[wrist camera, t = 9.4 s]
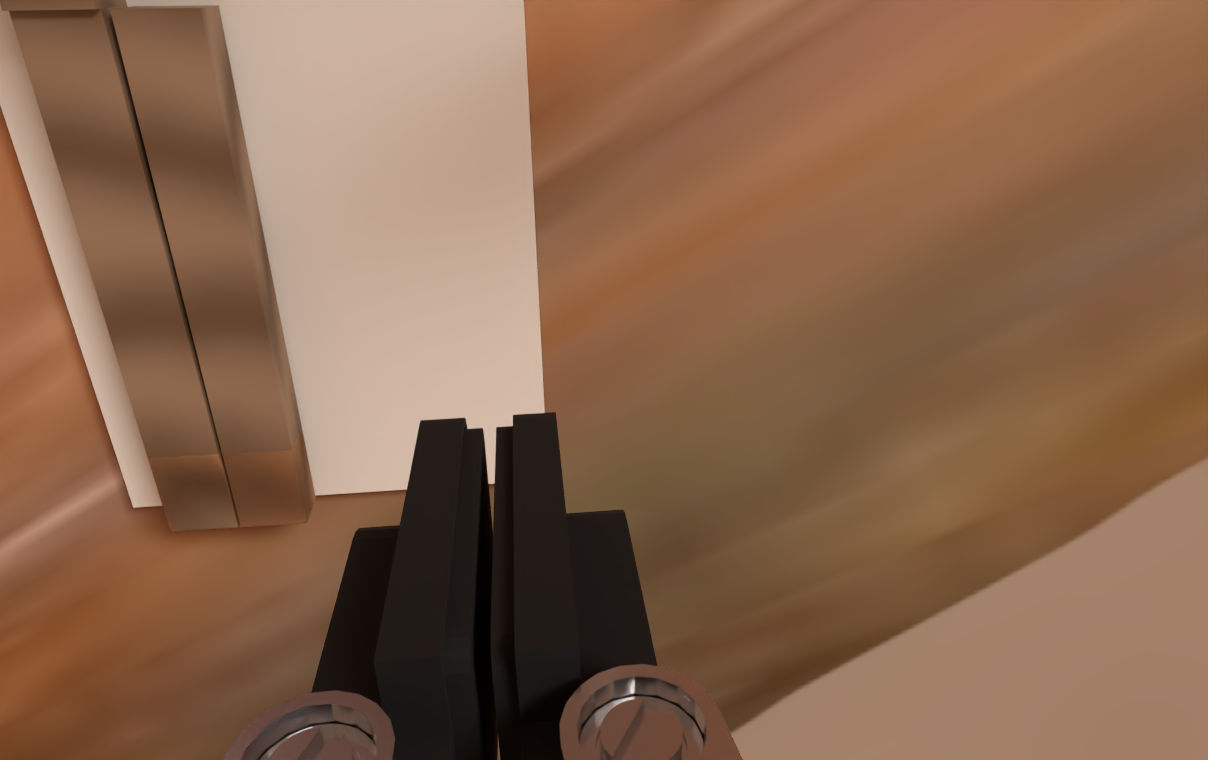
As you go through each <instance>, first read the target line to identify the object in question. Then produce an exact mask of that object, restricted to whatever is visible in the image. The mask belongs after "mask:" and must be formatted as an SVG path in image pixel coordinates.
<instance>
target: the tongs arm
mask: <svg viewBox="0 0 1208 760" xmlns="http://www.w3.org/2000/svg"><path fill="white" fill-rule="evenodd" d="M110 11H111V15H112V19H113V23H114V27H115V31H116V35H117V39H118V43H119V47H120V51H121V55H122V59H123V63H124V67H125V71H126V74H127V78H128V82H129V86H130V90H131V94H132V98H133V102H134V106H135V110H136V114H137V118H138V122H139V126H140V130H141V134H142V138H143V142H144V146H145V150H146V154H147V158H148V162H149V166H150V170H151V174H152V178H153V182H154V186H155V190H156V193H157V197H158V201H159V205H160V209H161V213H162V217H163V221H164V225H165V229H166V233H167V237H168V241H169V245H170V249H171V253H172V257H173V261H174V265H175V269H176V273H177V277H178V281H179V285H180V289H181V293H182V297H183V301H184V305H185V309H186V312H187V316H188V320H189V324H190V328H191V332H192V336H193V340H194V344H195V348H196V352H197V356H198V360H199V364H200V368H201V372H202V376H203V380H204V384H205V388H206V392H207V396H208V400H209V404H210V408H211V412H212V416H213V420H214V424H215V427H216V431H217V435H218V439H219V443H220V447H221V451H222V455H223V459H224V463H225V467H226V471H227V475H228V479H229V483H230V487H231V491H232V495H233V499H234V503H235V507H236V511H237V515H238V519H239V523H240V527H253V526H269V525H285V524H301V523H307V522H308V519H309V516H310V513H311V510H312V508H313V505H314V502H315V499H316V497H315V492H314V487H313V482H312V476H311V471H310V466H309V461H308V456H307V451H306V446H305V441H304V436H303V431H302V426H301V421H300V416H299V410H298V405H297V400H296V395H295V390H294V385H293V380H292V375H291V370H290V365H289V360H288V355H287V350H286V345H285V339H284V334H283V329H282V324H281V319H280V314H279V309H278V304H277V299H276V294H275V289H274V284H273V279H272V274H271V268H270V263H269V258H268V253H267V248H266V243H265V238H264V233H263V228H262V223H261V218H260V213H259V208H258V202H257V197H256V192H255V187H254V182H253V177H252V172H251V167H250V162H249V157H248V152H247V147H246V142H245V137H244V131H243V126H242V121H241V116H240V111H239V106H238V101H237V96H236V91H235V86H234V81H233V76H232V71H231V65H230V60H229V55H228V50H227V45H226V40H225V35H224V30H223V25H222V20H221V15H220V10H219V5H204V6H130V7H122V8H114V9H110Z"/></svg>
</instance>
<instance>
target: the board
mask: <svg viewBox="0 0 1208 760" xmlns="http://www.w3.org/2000/svg"><path fill="white" fill-rule="evenodd" d="M126 2H127V6H128V7H130V6H204V5H219V10H220V15H221V20H222V25H223V30H224V35H225V40H226V45H227V50H228V55H229V60H230V65H231V71H232V76H233V81H234V86H235V91H236V96H237V101H238V106H239V111H240V116H241V121H242V126H243V131H244V137H245V142H246V147H247V152H248V157H249V162H250V167H251V172H252V177H253V182H254V187H255V192H256V197H257V202H258V208H259V213H260V218H261V223H262V228H263V233H264V238H265V243H266V248H267V253H268V258H269V263H270V268H271V274H272V279H273V284H274V289H275V294H276V299H277V304H278V309H279V314H280V319H281V324H282V329H283V334H284V339H285V345H286V350H287V355H288V360H289V365H290V370H291V375H292V380H293V385H294V390H295V395H296V400H297V405H298V410H299V416H300V421H301V426H302V431H303V436H304V441H305V446H306V451H307V456H308V461H309V466H310V471H311V476H312V482H313V487H314V492H315V496H316V495H331V494H346V493H361V492H376V491H391V490H406V489H407V486H408V481H409V476H410V471H411V466H412V460H413V455H414V450H415V445H416V440H417V435H418V429H419V424H420V421H421V420H434V419H451V418H465V419H466V423H467V429H474V428H483V432H484V440H485V451H486V462H487V473H488V484H495V453H496V427H507V426H513V415H518V414H535V413H545V412H544V392H543V372H542V352H541V333H540V313H539V293H538V273H537V253H536V234H535V214H534V194H533V174H532V155H531V135H530V115H529V95H528V75H527V56H526V36H525V16H524V0H126ZM0 106H1V109H2V112H3V115H4V118H5V121H6V124H7V127H8V130H9V133H10V136H11V139H12V142H13V145H14V148H15V151H16V154H17V157H18V160H19V163H20V166H21V169H22V172H23V175H24V178H25V181H26V184H27V187H28V190H29V193H30V196H31V199H32V202H33V205H34V208H35V211H36V215H37V218H38V221H39V224H40V227H41V230H42V233H43V236H44V239H45V242H46V245H47V248H48V251H49V254H50V257H51V260H52V263H53V266H54V269H55V272H56V275H57V278H58V281H59V284H60V287H61V290H62V293H63V296H64V299H65V302H66V305H67V308H68V311H69V314H70V317H71V320H72V323H73V326H74V329H75V333H76V336H77V339H78V342H79V345H80V348H81V351H82V354H83V357H84V360H85V363H86V366H87V369H88V372H89V375H90V378H91V381H92V384H93V387H94V390H95V393H96V396H97V399H98V402H99V405H100V408H101V411H102V414H103V417H104V420H105V423H106V426H107V429H108V432H109V435H110V438H111V441H112V444H113V447H114V450H115V454H116V457H117V460H118V463H119V466H120V469H121V472H122V475H123V478H124V481H125V484H126V487H127V490H128V493H129V496H130V499H131V502H132V505H133V508H136V507H151V506H162V503H161V499H160V496H159V493H158V490H157V486H156V483H155V480H154V477H153V474H152V470H151V467H150V464H149V461H148V457H147V454H146V451H145V448H144V445H143V441H142V438H141V435H140V432H139V428H138V425H137V422H136V419H135V416H134V412H133V409H132V406H131V403H130V399H129V396H128V393H127V390H126V387H125V383H124V380H123V377H122V374H121V371H120V367H119V364H118V361H117V358H116V354H115V351H114V348H113V345H112V342H111V338H110V335H109V332H108V329H107V325H106V322H105V319H104V316H103V313H102V309H101V306H100V303H99V300H98V296H97V293H96V290H95V287H94V284H93V280H92V277H91V274H90V271H89V267H88V264H87V261H86V258H85V255H84V251H83V248H82V245H81V242H80V238H79V235H78V232H77V229H76V226H75V222H74V219H73V216H72V213H71V210H70V206H69V203H68V200H67V197H66V193H65V190H64V187H63V184H62V181H61V177H60V174H59V171H58V168H57V164H56V161H55V158H54V155H53V152H52V148H51V145H50V142H49V139H48V135H47V132H46V129H45V126H44V123H43V119H42V116H41V113H40V110H39V106H38V103H37V100H36V97H35V94H34V90H33V87H32V84H31V81H30V77H29V74H28V71H27V68H26V65H25V61H24V58H23V55H22V52H21V49H20V45H19V42H18V39H17V36H16V32H15V29H14V26H13V23H12V20H11V16H10V13H9V11H2V9H1V5H0Z"/></svg>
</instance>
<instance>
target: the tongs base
mask: <svg viewBox="0 0 1208 760" xmlns="http://www.w3.org/2000/svg"><path fill="white" fill-rule="evenodd" d="M0 5H1V9H2V11H9V13H10V16H11V20H12V23H13V26H14V29H15V32H16V36H17V39H18V42H19V45H20V49H21V52H22V55H23V58H24V61H25V65H26V68H27V71H28V74H29V77H30V81H31V84H32V87H33V90H34V94H35V97H36V100H37V103H38V106H39V110H40V113H41V116H42V119H43V123H44V126H45V129H46V132H47V135H48V139H49V142H50V145H51V148H52V152H53V155H54V158H55V161H56V164H57V168H58V171H59V174H60V177H61V181H62V184H63V187H64V190H65V193H66V197H67V200H68V203H69V206H70V210H71V213H72V216H73V219H74V222H75V226H76V229H77V232H78V235H79V238H80V242H81V245H82V248H83V251H84V255H85V258H86V261H87V264H88V267H89V271H90V274H91V277H92V280H93V284H94V287H95V290H96V293H97V296H98V300H99V303H100V306H101V309H102V313H103V316H104V319H105V322H106V325H107V329H108V332H109V335H110V338H111V342H112V345H113V348H114V351H115V354H116V358H117V361H118V364H119V367H120V371H121V374H122V377H123V380H124V383H125V387H126V390H127V393H128V396H129V399H130V403H131V406H132V409H133V412H134V416H135V419H136V422H137V425H138V428H139V432H140V435H141V438H142V441H143V445H144V448H145V451H146V454H147V457H148V461H149V464H150V467H151V470H152V474H153V477H154V480H155V483H156V486H157V490H158V493H159V496H160V499H161V503H162V506H163V509H164V512H165V515H166V519H167V522H168V525H169V528H170V532H177V531H191V530H206V529H220V528H235V527H238V526H239V524H240V523H239V519H238V515H237V511H236V507H235V503H234V499H233V495H232V491H231V487H230V483H229V479H228V475H227V471H226V467H225V463H224V459H223V455H222V451H221V447H220V443H219V439H218V435H217V431H216V427H215V424H214V420H213V416H212V412H211V408H210V404H209V400H208V396H207V392H206V388H205V384H204V380H203V376H202V372H201V368H200V364H199V360H198V356H197V352H196V348H195V344H194V340H193V336H192V332H191V328H190V324H189V320H188V316H187V312H186V309H185V305H184V301H183V297H182V293H181V289H180V285H179V281H178V277H177V273H176V269H175V265H174V261H173V257H172V253H171V249H170V245H169V241H168V237H167V233H166V229H165V225H164V221H163V217H162V213H161V209H160V205H159V201H158V197H157V193H156V190H155V186H154V182H153V178H152V174H151V170H150V166H149V162H148V158H147V154H146V150H145V146H144V142H143V138H142V134H141V130H140V126H139V122H138V118H137V114H136V110H135V106H134V102H133V98H132V94H131V90H130V86H129V82H128V78H127V74H126V71H125V67H124V63H123V59H122V55H121V51H120V47H119V43H118V39H117V35H116V31H115V27H114V23H113V19H112V15H111V11H110V9H114V8H122V7H128V6H127V2H126V0H0Z"/></svg>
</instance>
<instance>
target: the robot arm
mask: <svg viewBox="0 0 1208 760" xmlns="http://www.w3.org/2000/svg"><path fill="white" fill-rule="evenodd" d="M498 738H499V748H500V758H501V760H743V759H742V757H741V756H740V753H739V751H738V749H737V747H736V744H735V742H734V740H733V738H732V736H731V734H730V732H729V730H728V727H727V725H726V723H725V721H724V719H723V717H722V715H721V713H720V711H719V709H718V707H717V706H716V704H715V703H714V701H713V700H712V699H711V697H710V696H709V694H708V693H707V691H705V690H704V689H703V688H702V687H700V686H699V685H698V684H697V683H695V682H694V681H693V680H692V679H690V678H689V677H687V676H685V675H683V674H680V673H678V672H676V671H673V670H671V669H669V668H665V667H659V666H657V662H656V657H655V653H654V648H653V643H652V638H651V633H650V629H649V624H648V619H647V614H646V610H645V605H644V600H643V595H642V591H641V586H640V581H639V576H638V571H637V567H636V562H635V557H634V552H633V548H632V543H631V538H630V533H629V529H628V524H627V519H626V516H625V512H624V511H623V510H611V511H597V512H583V513H569V514H566V508H565V499H564V489H563V479H562V469H561V460H560V450H559V440H558V430H557V421H556V413H555V412H552V413H535V414H518V415H513V426H507V427H496V453H495V488H494V524H493V529H492V517H491V506H490V495H489V484H488V473H487V462H486V451H485V440H484V432H483V428H474V429H467V423H466V419H465V418H451V419H434V420H421V421H420V424H419V429H418V435H417V440H416V445H415V450H414V455H413V460H412V466H411V471H410V476H409V481H408V486H407V491H406V497H405V502H404V507H403V512H402V517H401V522H400V525H398V526H384V527H369V528H359V529H358V530H357V531H356V532H355V535H354V538H353V541H352V544H351V548H350V552H349V555H348V559H347V563H346V566H345V570H344V574H343V578H342V581H341V585H340V589H339V592H338V596H337V600H336V603H335V607H334V611H333V615H332V618H331V622H330V626H329V629H328V633H327V637H326V640H325V644H324V648H323V652H322V655H321V659H320V663H319V666H318V670H317V674H316V677H315V681H314V685H313V689H312V692H311V693H309V694H306V695H303V696H300V697H296V698H293V699H290V700H287V701H285V702H283V703H281V704H279V705H278V706H276V707H274V708H272V709H270V710H269V711H267V712H265V713H263V714H262V715H260V716H259V717H258V718H257V719H256V720H254V721H253V722H252V723H251V724H250V725H249V726H248V727H246V728H245V729H244V730H243V731H242V732H241V733H240V734H239V735H238V737H237V738H236V739H235V741H234V742H233V744H232V745H231V746H230V748H229V749H228V751H227V752H226V753H225V755H224V757H223V758H222V760H497V755H498Z"/></svg>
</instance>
